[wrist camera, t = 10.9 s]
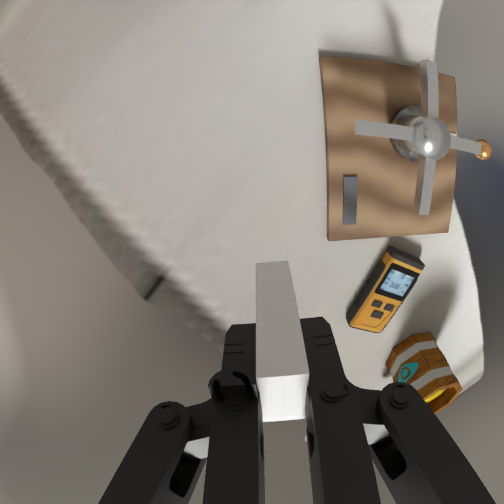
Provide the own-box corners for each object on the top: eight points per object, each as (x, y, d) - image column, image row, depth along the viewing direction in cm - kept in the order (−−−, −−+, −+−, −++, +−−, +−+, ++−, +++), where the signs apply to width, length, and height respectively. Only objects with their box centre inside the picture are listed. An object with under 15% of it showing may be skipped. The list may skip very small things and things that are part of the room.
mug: (412, 325, 50) (441, 379, 36) (445, 337, 52) (472, 383, 39) (358, 384, 58) (372, 436, 45) (394, 389, 60) (411, 435, 47)
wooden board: (319, 58, 29) (321, 56, 28) (450, 77, 28) (455, 77, 27) (326, 237, 41) (329, 242, 40) (444, 229, 40) (448, 233, 39)
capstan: (336, 194, 37) (356, 215, 29) (337, 56, 28) (359, 41, 21) (453, 200, 36) (484, 219, 29) (460, 85, 28) (496, 86, 20)
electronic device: (341, 315, 49) (345, 328, 46) (386, 243, 42) (394, 252, 39) (376, 325, 50) (381, 336, 47) (420, 258, 43) (429, 268, 40)
